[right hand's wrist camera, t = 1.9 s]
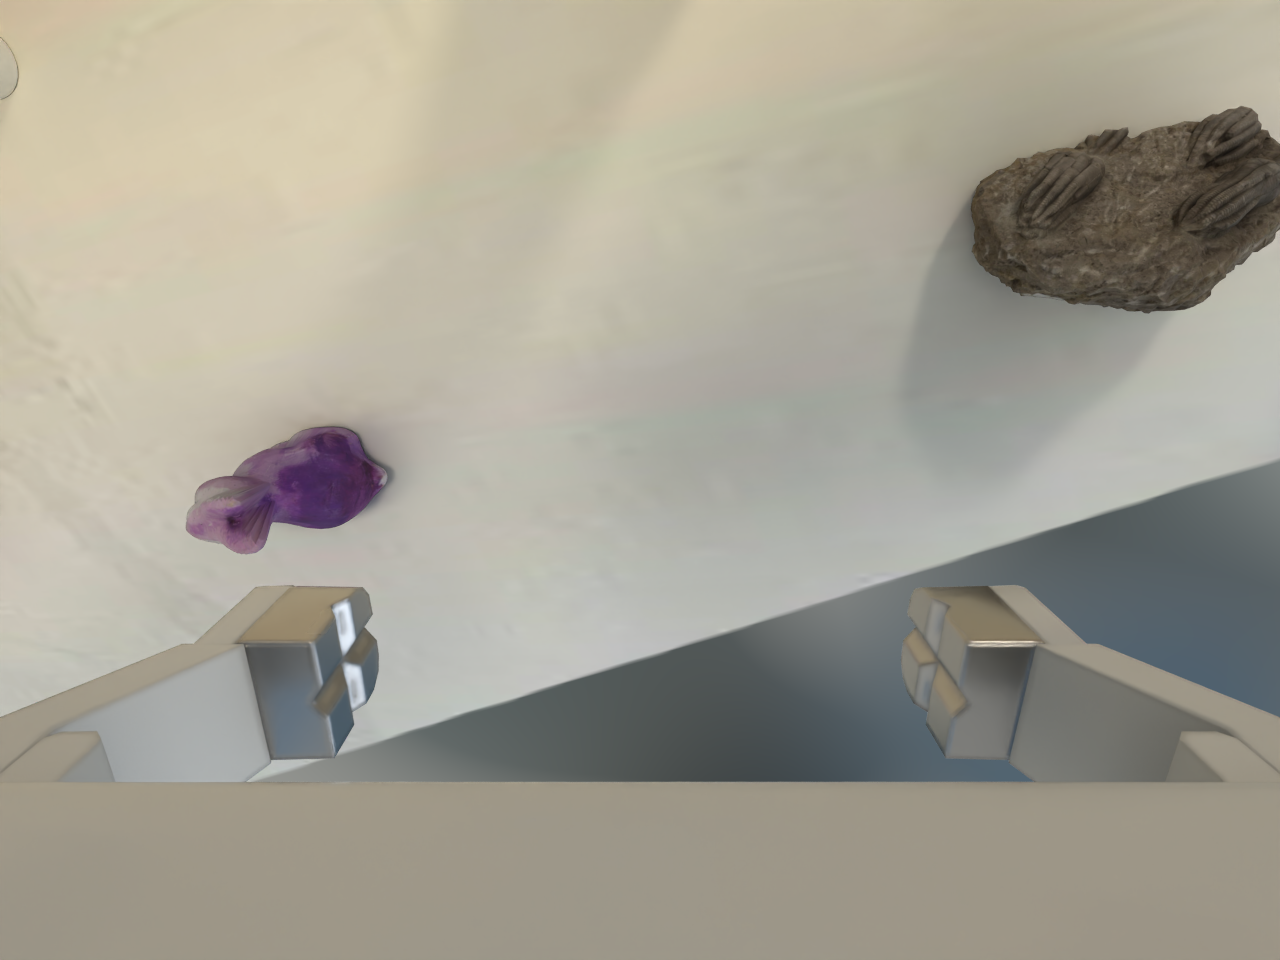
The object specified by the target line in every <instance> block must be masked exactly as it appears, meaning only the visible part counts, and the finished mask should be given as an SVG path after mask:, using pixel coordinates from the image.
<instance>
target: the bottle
mask: <svg viewBox="0 0 1280 960" xmlns="http://www.w3.org/2000/svg"><path fill="white" fill-rule="evenodd" d="M17 79H18V69H17V64H16V61H15V58H14V56H13V53H12V52H11V50H10V48H9V47H8V45H7V44H6V43H5V42H4V41H3V40H2V39H1V38H0V99H3V98H5V97H7V96H8V95H10V94H11V93H12V91H13V90H14V88H15V86H16V84H17Z"/></svg>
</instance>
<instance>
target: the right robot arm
mask: <svg viewBox="0 0 1280 960" xmlns="http://www.w3.org/2000/svg"><path fill="white" fill-rule="evenodd" d="M372 614H373V613H372V608H371V603H370V598H369V594H368V593H367V592H366V590H365V589H364V588H363V587H320V586H293V585H286V586H261V587H255V588H254V589H253V590H252V591H251V592H250V593H249V594H248V595H247V596H246V597H244V598H243V599H242V600H241V601H240V602H239V603H238V604H237V605H236V606H235V607H233V608H232V609H231V610H230V611H229V612H228V613H227V614H226V615H225V616H224V617H223V618H221V619H220V620H219V621H218V622H217V623H216V624H215V625H214V626H213V627H212V628H210V629H209V630H208V631H207V632H206V633H205V634H204V635H203V636H202V637H201V638H199V639H198V640H197V641H196V642H195V643H194V644H181V645H178V646H176V647H173V648H171V649H168V650H166V651H164V652H161V653H159V654H156V655H154V656H151V657H149V658H146V659H144V660H141V661H139V662H136V663H134V664H131V665H129V666H126V667H124V668H121V669H119V670H116V671H114V672H111V673H109V674H106V675H104V676H102V677H99V678H97V679H94V680H92V681H89V682H87V683H84V684H82V685H79V686H77V687H74V688H72V689H69V690H67V691H64V692H62V693H59V694H57V695H54V696H52V697H49V698H47V699H44V700H42V701H40V702H37V703H35V704H32V705H30V706H27V707H25V708H22V709H20V710H17V711H15V712H12V713H10V714H7V715H5V716H2V717H0V960H1280V717H1277V716H1275V715H1272V714H1270V713H1267V712H1265V711H1262V710H1260V709H1257V708H1255V707H1252V706H1250V705H1247V704H1245V703H1243V702H1240V701H1238V700H1235V699H1233V698H1230V697H1228V696H1225V695H1223V694H1220V693H1218V692H1215V691H1213V690H1210V689H1208V688H1205V687H1203V686H1200V685H1198V684H1196V683H1193V682H1191V681H1188V680H1186V679H1183V678H1181V677H1178V676H1176V675H1173V674H1171V673H1168V672H1166V671H1163V670H1161V669H1158V668H1156V667H1154V666H1151V665H1149V664H1146V663H1144V662H1141V661H1139V660H1136V659H1134V658H1131V657H1129V656H1126V655H1124V654H1121V653H1119V652H1116V651H1114V650H1111V649H1109V648H1107V647H1104V646H1102V645H1099V644H1086V643H1085V642H1084V641H1083V640H1082V639H1081V638H1079V637H1078V636H1077V635H1076V634H1075V633H1074V632H1073V631H1072V630H1071V629H1070V628H1069V627H1067V626H1066V625H1065V624H1064V623H1063V622H1062V621H1061V620H1060V619H1059V618H1058V617H1057V616H1055V615H1054V614H1053V613H1052V612H1051V611H1050V610H1049V609H1048V608H1047V607H1046V606H1044V605H1043V604H1042V603H1041V602H1040V601H1039V600H1038V599H1037V598H1036V597H1035V596H1033V595H1032V594H1031V593H1030V592H1029V591H1028V590H1027V589H1026V588H1024V587H1020V586H1017V585H1009V586H964V587H923V588H917V589H914V591H913V593H912V595H911V598H910V602H909V607H908V613H907V614H908V616H909V617H910V619H911V620H912V622H913V623H914V625H915V628H914V629H913V631H912V632H911V633H910V634H909V635H908V636H907V637H906V638H905V639H904V640H903V647H902V656H901V665H902V675H903V680H904V684H905V687H906V690H907V692H908V694H909V696H910V698H911V700H912V701H913V703H914V704H915V705H917V706H919V707H920V708H922V709H924V710H925V711H927V712H928V715H927V721H926V726H927V727H928V729H929V731H930V732H931V734H932V736H933V737H934V739H935V741H936V743H937V744H938V746H939V748H940V749H941V751H942V753H943V754H944V756H945V758H958V759H994V760H1009V763H1010V764H1011V765H1013V766H1014V767H1015V768H1017V769H1018V770H1019V771H1021V772H1022V773H1023V774H1025V775H1026V776H1027V777H1029V778H1030V779H1031V780H1033V781H1034V782H246V781H248V780H249V779H250V778H252V777H253V776H254V775H256V774H257V773H258V772H260V771H261V770H262V769H264V768H265V767H266V766H268V765H269V764H270V763H271V760H286V759H322V758H335V756H336V755H337V753H338V751H339V749H340V748H341V746H342V744H343V743H344V741H345V739H346V738H347V736H348V734H349V732H350V731H351V729H352V727H353V726H354V721H353V715H352V712H353V711H355V710H357V709H358V708H360V707H361V706H363V705H365V704H366V703H367V701H368V700H369V698H370V696H371V694H372V692H373V690H374V687H375V683H376V679H377V675H378V667H379V653H378V646H377V640H376V639H375V638H374V637H373V636H372V635H371V634H370V633H369V632H368V631H367V629H366V628H365V625H366V624H367V622H368V621H369V619H370V617H371V616H372Z"/></svg>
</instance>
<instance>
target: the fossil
mask: <svg viewBox="0 0 1280 960" xmlns="http://www.w3.org/2000/svg"><path fill="white" fill-rule="evenodd" d="M1261 125H1262V124H1261V123H1260V122H1259V121H1258V114H1257V113H1256V112H1254V111H1253V110H1252V109H1251V108H1247V107H1243V106H1240V107H1239V108H1237V109H1228V110H1226V111H1224V112H1223V113H1221V114H1219V115H1214V114H1212V115H1211V116H1209V117H1207V118H1205V119H1204V120H1203V121H1202V122H1185V121H1184V122H1182V123H1179V124H1176V125H1173V126H1168V127H1159V128H1155V129H1151V130H1148V131H1146V132H1143V133H1141V134H1140V135H1139V136H1138V137H1136V138H1133V139H1130V138H1129V137H1127V135H1128V127H1127V128H1122V129H1120V130H1105V131H1104V132H1103V133H1102V135H1101V136H1100V137H1099V136H1095V135H1088V137H1087V138H1086V140H1085V142H1082V143H1080V144H1079V145H1078V146H1077V147H1076V148H1075V149H1071V148H1060V149H1053V150H1049V151H1047V152H1045V153H1042V152H1038V153H1037V154H1035V155H1033V157H1031V158H1017V159H1016V160H1015V162H1014V163H1013V164H1012V165H1011V166H1009V167H1007V168H1005V169H1001V170H997V171H995V172H994V173H993V174H992V175H990V176H988V177H987V178H985V179H983V180H982V181H980V185H978V186H977V189H976V193H975V195H974V197H973V201H972V205H971V211H972V218H973V222H974V225H975V232H974V238H975V244H974V245H973V249H972V253H973V254H974V255H975V258H976V259H977V261H978V262H979V264H980V265H981V266H983V267H984V268H985V270H986V271H987V272H989V273H990V274H991V275H993V276H996V277H999V279H1000V281H1001V283H1005V284H1006V286H1009V287H1011V288H1012V290H1013V292H1017V293H1020V295H1021V296H1033V297H1045V298H1053V299H1058V300H1065V301H1066V302H1068V303H1070V304H1077V303H1082V304H1091V305H1101V306H1103V307H1107V306H1111V307H1113V308H1116V309H1120V308H1122V309H1124V310H1127V311H1142V312H1144V313H1150V312H1151V311H1175V310H1184V309H1188V308H1191V307H1194V306H1195V305H1197V304H1199V303H1201V302H1203V301H1204V300H1205V299H1207V298H1208V297H1209V296H1210V295H1211V290H1212V288H1213V287H1214V286H1215V285H1216V284H1217V283H1218V282H1219V281H1221V280H1222V279H1224V278H1225V277H1226V274H1227V273H1229V272H1231V271H1232V270H1234V268H1235V265H1241V264H1243V263H1244V262H1245V260H1246V259H1247V258H1248V257H1249V256H1250V254H1251V253H1252V252H1258V251H1259V250H1261V249H1262V248H1263V247H1265V246H1267V245H1268V244H1270V243H1271V242H1272V241H1273V240H1274V239H1275V233H1276V232H1277V231H1278V230H1279V229H1280V144H1279V143H1278V142H1277V141H1276V140H1275V139H1273V138H1272V137H1270V135H1269V132H1268V130H1261Z"/></svg>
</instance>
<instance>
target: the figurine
mask: <svg viewBox="0 0 1280 960" xmlns="http://www.w3.org/2000/svg"><path fill="white" fill-rule="evenodd" d="M387 478H388V476H387V473H386V471H385V470H384V469H383V468H382V467H380V466H378V465H376V464H375V463H374V462H372V461H371V460H369V459H368V458H367V456H366V455H365V453H364V451H363V449H362V447H361V445H360V441H359V438H358V437H357V435H355V434H354V433H353V432H352V431H349V430H347V429H345V428H340V427H323V428H311V429H307V430H302V431H300V432H298V433H297V434H295V435H294V436H293V437H292V438H291V439H290V440H288V441H286V442H283V443H279V444H276V445H275V446H273V447H271V449H266V450H263V451H261V452H259V453H257V454H255V455H253V456H252V457H250V458H248V459H246V460H245V461H244V462H243V463H242V464H241V465H240V466H239V467H238V468H237V470H236V471H235V472H234V474H233V476H224V477H219V478H215V479H212V480H209V481H207V482H205V483H203V484H202V485H201V486H200V487H199V488H198V489H197V491H196V493H195V504H194V505H193V506H192V507H191V508H190V509H189V511H188V513H187V522H186V530H187V532H188V533H190V534H191V535H192V536H194V537H196V538H198V539H200V540H204V541H208V542H214V543H220V544H224V545H225V546H226V547H227V548H229V549H231V550H233V551H234V552H236V553H240V554H252V553H256V552H258V551H259V550H261V549H262V548H263V547H264V545H265V543H266V540H267V537H268V533H269V529H270V526H271V524H272V522H280V523H288V524H293V525H298V526H302V527H307V528H317V529H325V528H332V527H336V526H339V525H342V524H344V523H345V522H347V521H349V520H350V519H352V518H353V517H355V516H356V515H357V514H358V513H359V512H361V511H362V510H363V509H364V508H365V507H366V505H367V504H368V503H369V502H370V500H371V499H372V498H373V497H374V496H375V495H376V494H377V493H378V492H379V491H380V490H381V489H382V487H383V486H384V485H385V484H386V482H387Z"/></svg>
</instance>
